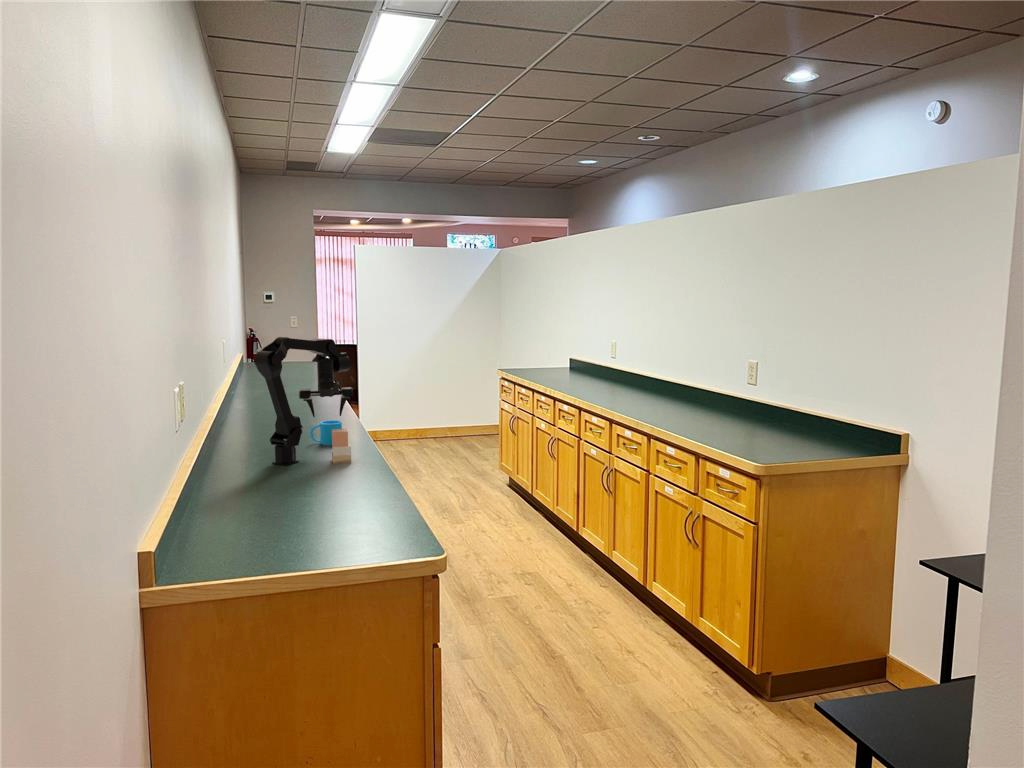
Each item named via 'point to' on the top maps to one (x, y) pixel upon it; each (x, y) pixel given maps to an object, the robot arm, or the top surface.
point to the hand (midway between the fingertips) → (327, 416)
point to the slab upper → (342, 450)
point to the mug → (326, 431)
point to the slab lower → (341, 459)
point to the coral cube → (339, 437)
